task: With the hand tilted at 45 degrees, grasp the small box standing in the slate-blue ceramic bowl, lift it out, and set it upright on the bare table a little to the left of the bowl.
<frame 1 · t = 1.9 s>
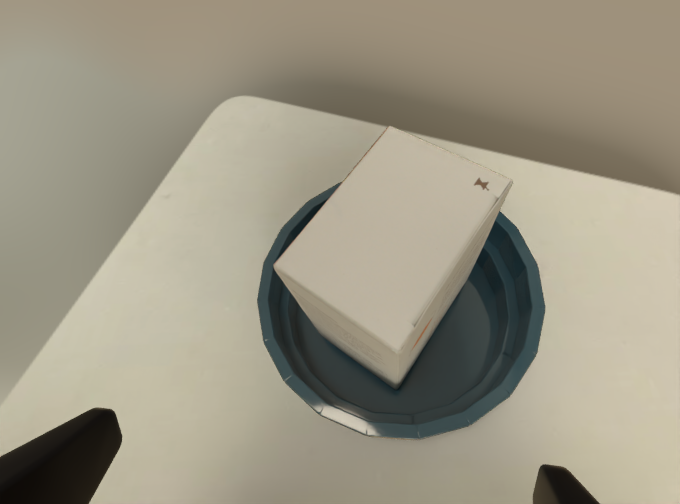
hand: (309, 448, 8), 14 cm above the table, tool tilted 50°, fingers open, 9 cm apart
bowl: (393, 310, 23), on the table
small box: (393, 309, 23), resting on bowl
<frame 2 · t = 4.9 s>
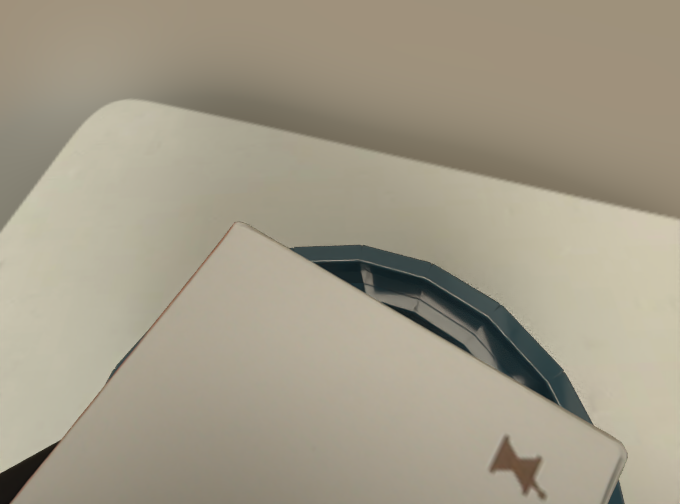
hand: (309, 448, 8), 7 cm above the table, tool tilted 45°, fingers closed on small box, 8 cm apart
bowl: (340, 481, 13), on the table
small box: (339, 481, 13), resting on bowl, touching gripper
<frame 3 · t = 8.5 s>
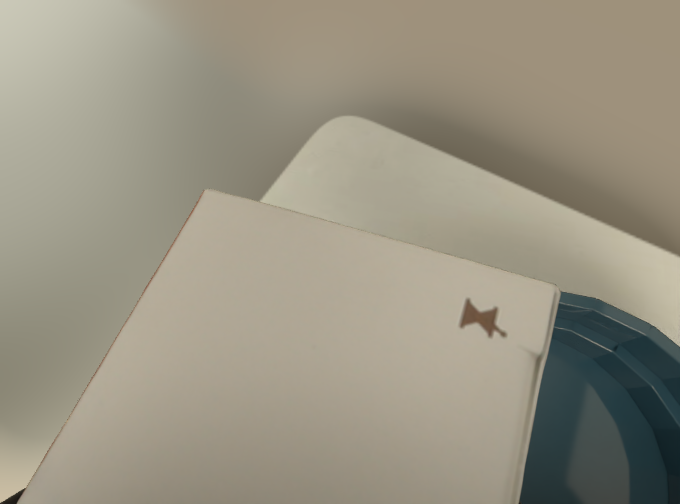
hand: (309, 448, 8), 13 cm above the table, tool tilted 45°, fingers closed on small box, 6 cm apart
bowl: (523, 455, 19), on the table
small box: (343, 462, 14), point 7 cm above the table, touching gripper
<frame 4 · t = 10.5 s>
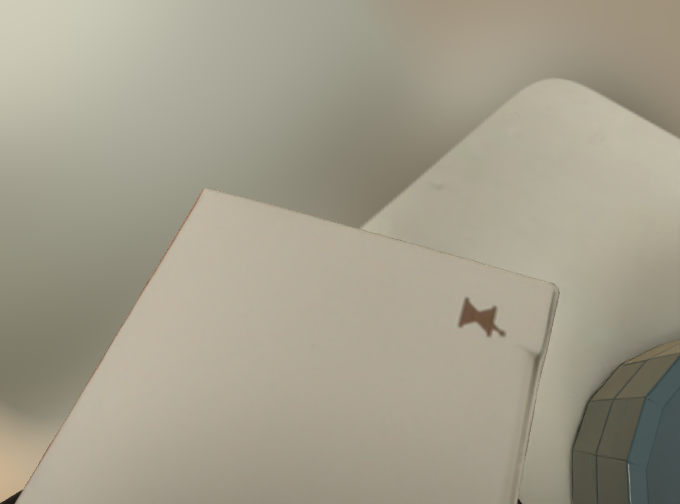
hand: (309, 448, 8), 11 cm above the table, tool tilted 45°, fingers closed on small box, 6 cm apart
small box: (342, 462, 14), point 4 cm above the table, touching gripper
when the fingers open (7 cm above the table, at t = 12.2 s): small box stays where it is, on the table.
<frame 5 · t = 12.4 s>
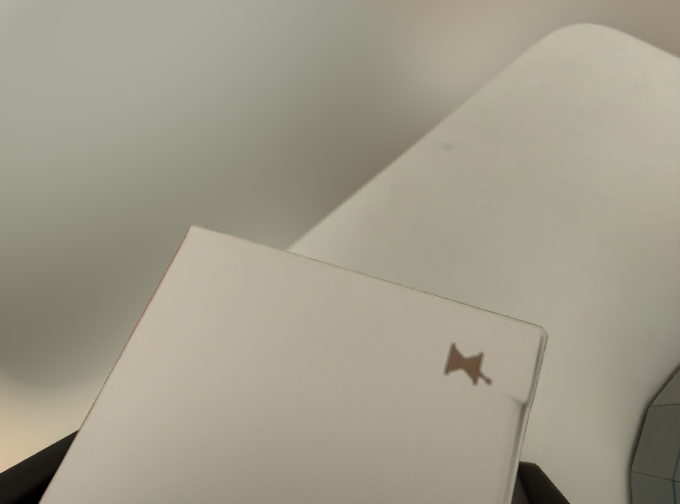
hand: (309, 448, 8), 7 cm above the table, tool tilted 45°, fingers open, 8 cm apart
small box: (344, 465, 14), on the table
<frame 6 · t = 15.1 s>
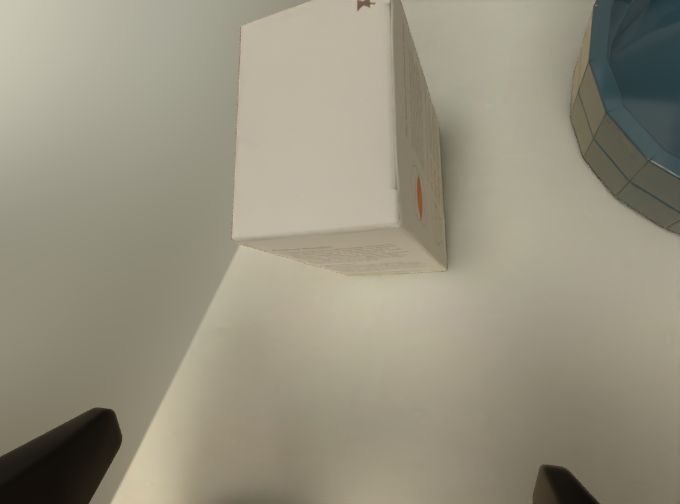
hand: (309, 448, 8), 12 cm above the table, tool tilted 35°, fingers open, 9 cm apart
small box: (394, 205, 21), on the table
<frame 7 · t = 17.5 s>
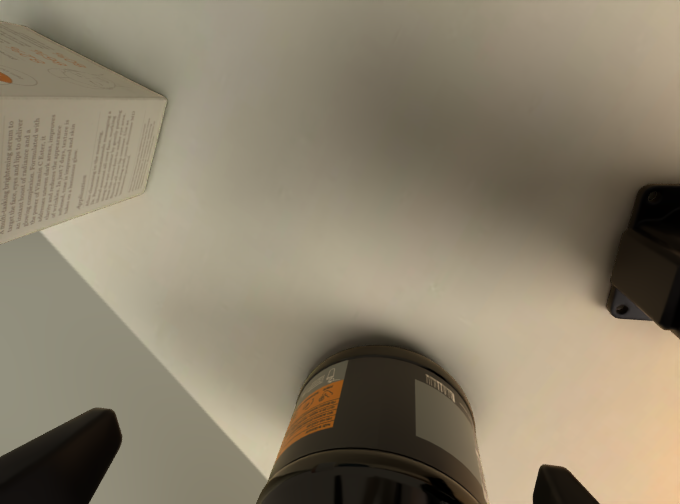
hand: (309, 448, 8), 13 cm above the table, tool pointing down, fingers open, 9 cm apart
supplement container: (383, 405, 24), on the table
small box: (93, 114, 20), on the table
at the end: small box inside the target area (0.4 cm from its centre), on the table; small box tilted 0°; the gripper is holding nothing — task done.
